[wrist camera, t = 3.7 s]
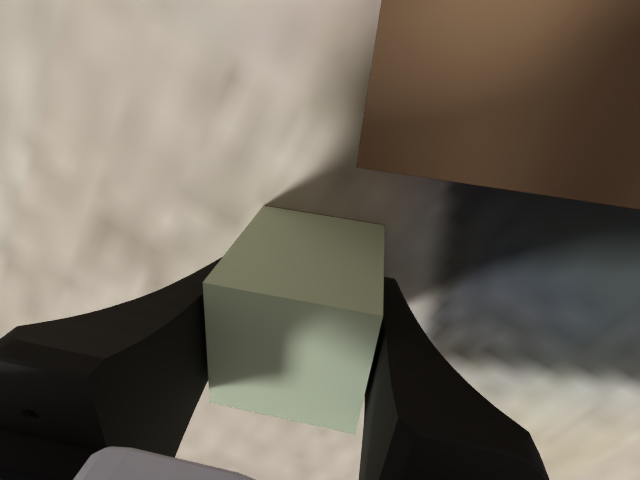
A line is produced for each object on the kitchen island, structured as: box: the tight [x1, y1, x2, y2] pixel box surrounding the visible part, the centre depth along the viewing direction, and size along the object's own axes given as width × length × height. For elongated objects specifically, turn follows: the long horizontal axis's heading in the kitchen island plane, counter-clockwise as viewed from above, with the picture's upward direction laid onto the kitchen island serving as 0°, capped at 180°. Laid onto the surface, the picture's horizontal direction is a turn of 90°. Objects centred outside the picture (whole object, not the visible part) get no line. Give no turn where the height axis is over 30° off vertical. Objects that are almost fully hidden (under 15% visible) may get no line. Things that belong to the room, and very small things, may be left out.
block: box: [203, 206, 385, 434], centre depth 12 cm, size 4×4×5 cm
